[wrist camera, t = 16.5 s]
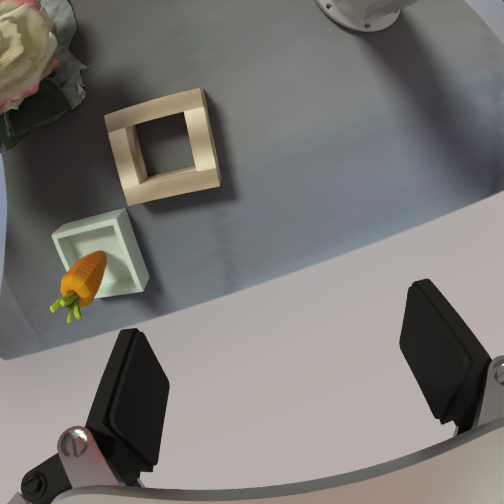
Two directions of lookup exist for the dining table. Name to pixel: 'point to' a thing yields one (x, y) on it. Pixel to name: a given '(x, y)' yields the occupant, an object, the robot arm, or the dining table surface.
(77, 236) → the tray
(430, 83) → the dining table surface
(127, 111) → the wooden stand
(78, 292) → the carrot
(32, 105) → the rose bouquet
